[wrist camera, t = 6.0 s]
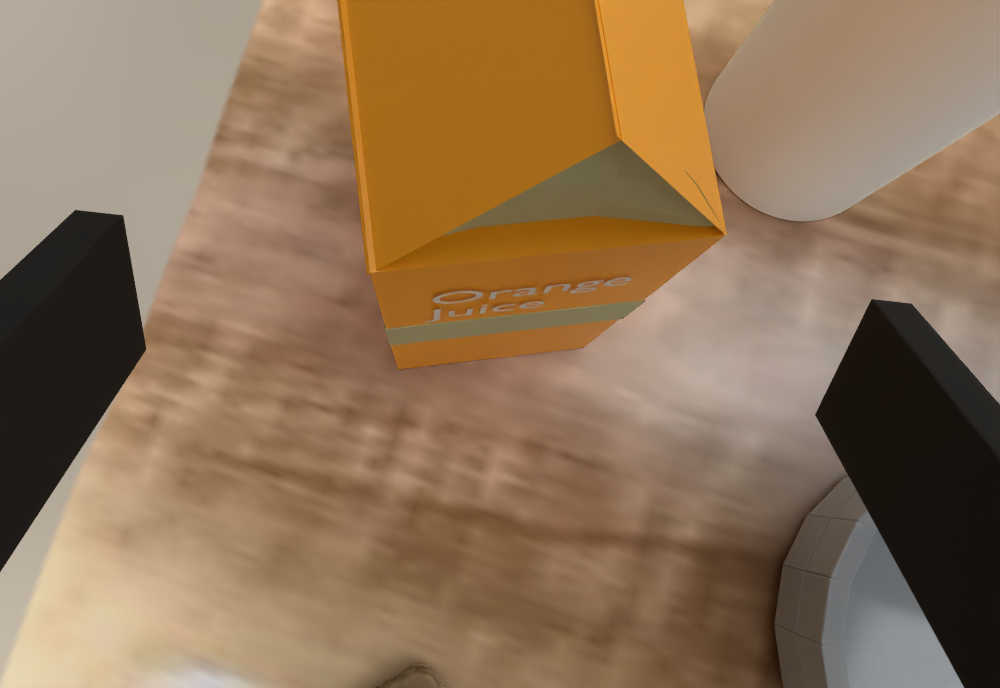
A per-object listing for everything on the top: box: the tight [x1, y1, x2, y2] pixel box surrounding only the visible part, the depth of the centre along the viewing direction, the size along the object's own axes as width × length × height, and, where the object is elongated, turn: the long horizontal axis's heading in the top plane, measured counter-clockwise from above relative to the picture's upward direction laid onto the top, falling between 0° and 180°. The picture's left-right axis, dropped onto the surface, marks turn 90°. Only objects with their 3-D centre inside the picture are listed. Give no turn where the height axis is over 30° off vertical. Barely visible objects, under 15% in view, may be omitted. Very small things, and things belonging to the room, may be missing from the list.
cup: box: [704, 0, 1000, 221], centre depth 25 cm, size 8×8×16 cm
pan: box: [774, 476, 964, 688], centre depth 28 cm, size 14×14×4 cm
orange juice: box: [337, 0, 727, 370], centre depth 21 cm, size 8×9×20 cm
